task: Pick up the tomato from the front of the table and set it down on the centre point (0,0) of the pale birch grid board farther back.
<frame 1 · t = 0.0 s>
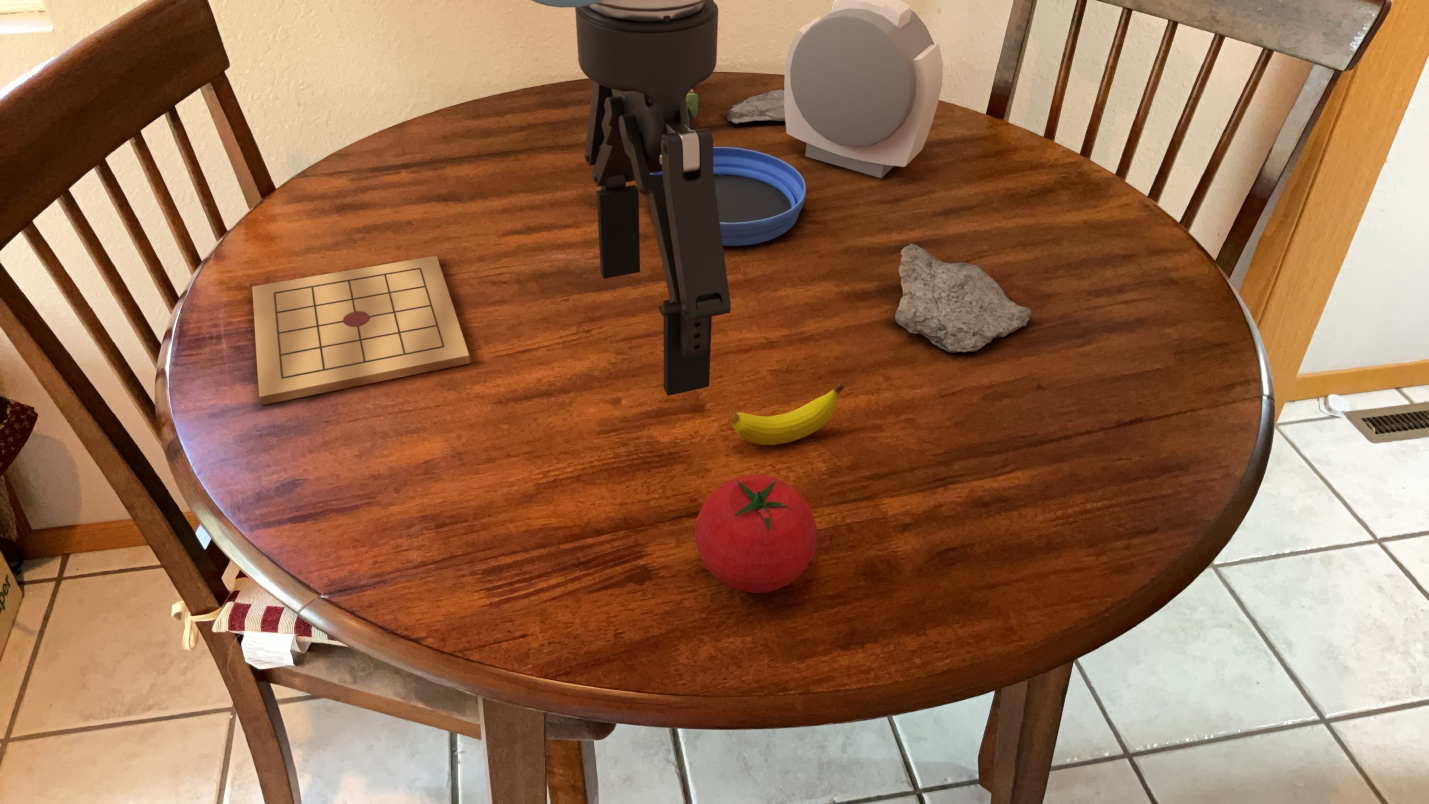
hand: (651, 326, 65), 18 cm above the table, tool pointing down, fingers open, 13 cm apart
alarm clock: (850, 160, 124), on the table
tomato: (752, 568, 73), on the table
fruit: (783, 440, 83), on the table
rock: (949, 311, 99), on the table
board: (358, 327, 93), on the table
stone: (797, 109, 135), on the table
bowl: (725, 211, 113), on the table
skewer: (660, 109, 134), on the table
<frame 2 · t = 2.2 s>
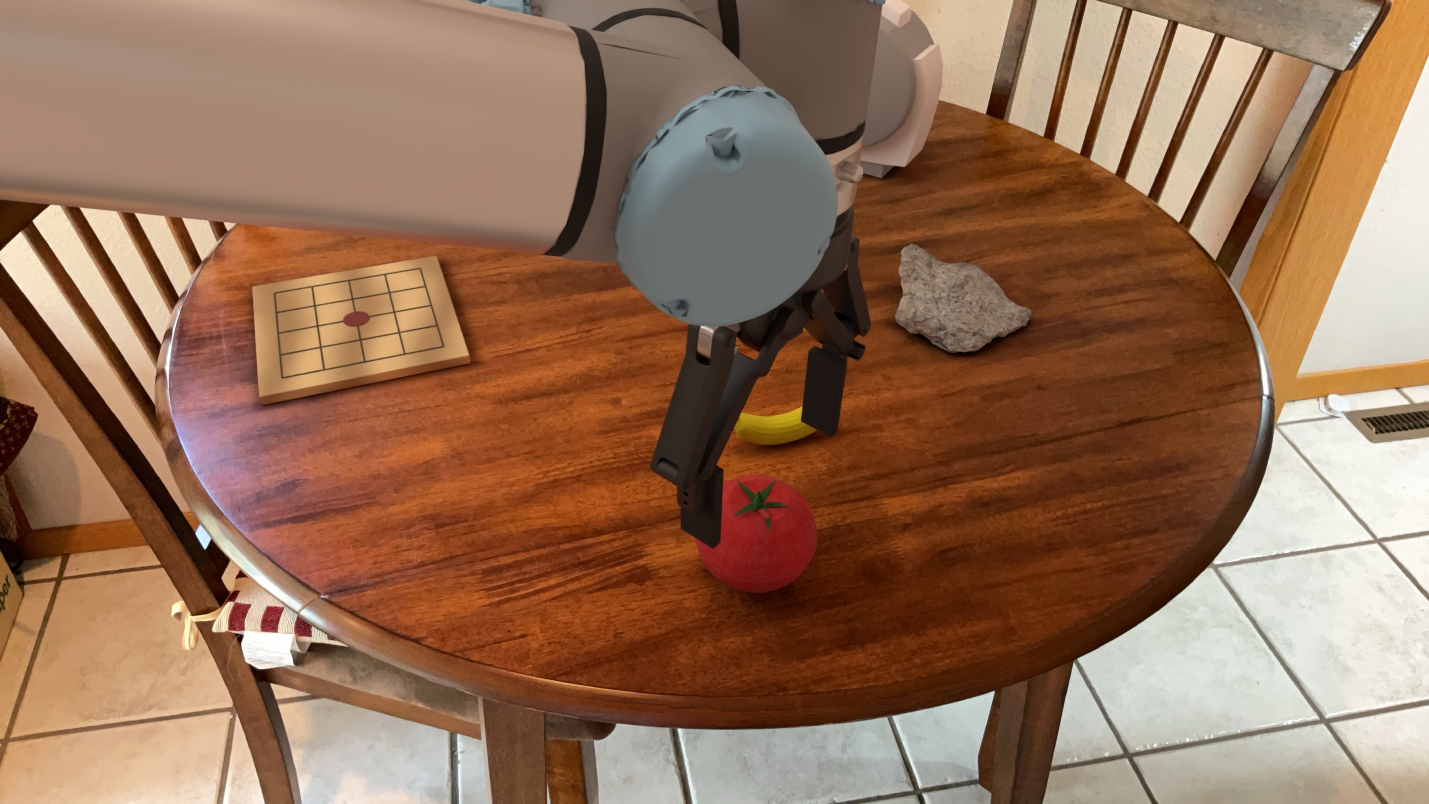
hand: (763, 478, 67), 9 cm above the table, tool pointing down, fingers open, 13 cm apart
nothing on the table moved.
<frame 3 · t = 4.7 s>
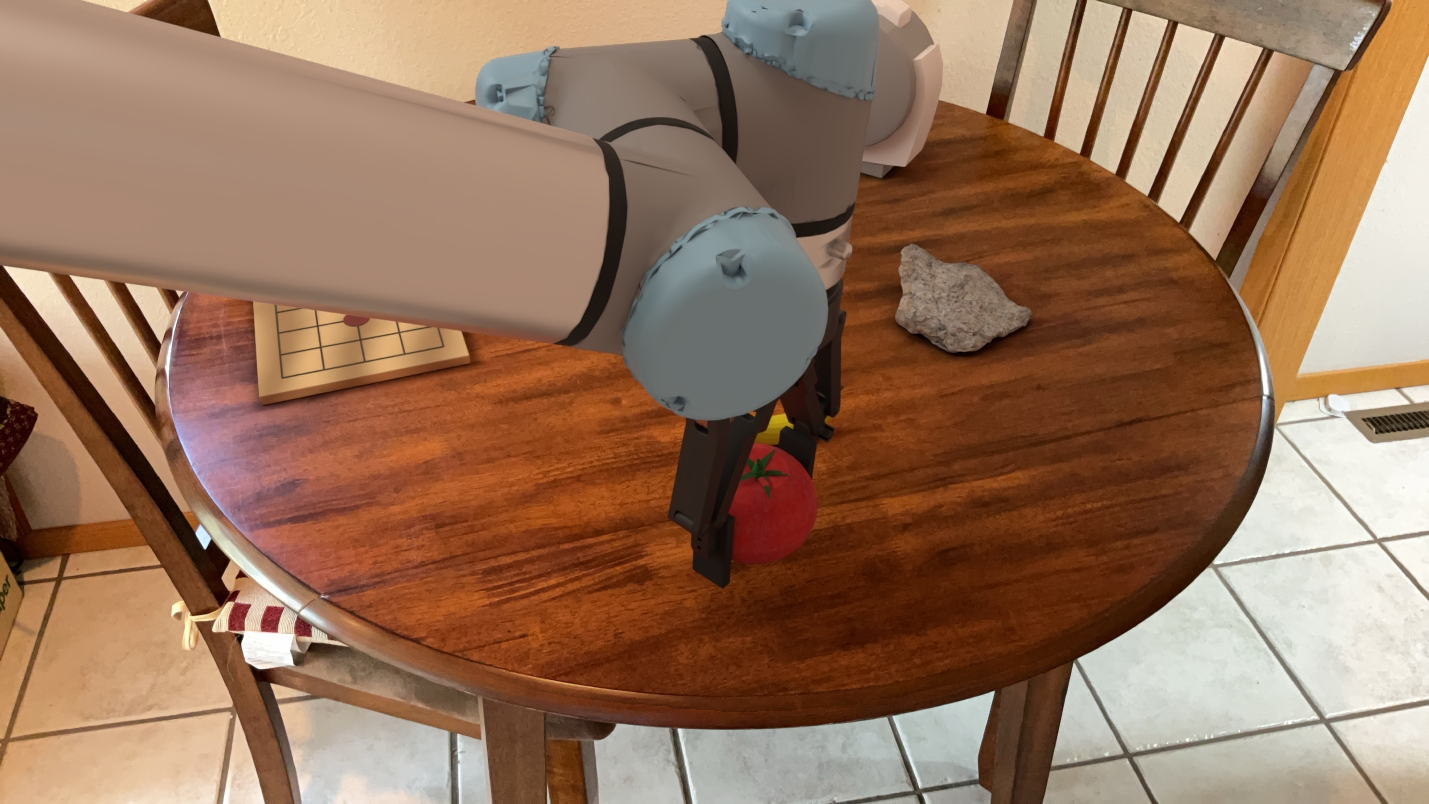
hand: (752, 536, 70), 3 cm above the table, tool pointing down, fingers closed on tomato, 9 cm apart
tomato: (750, 540, 70), point 3 cm above the table, touching gripper
everything else where it was.
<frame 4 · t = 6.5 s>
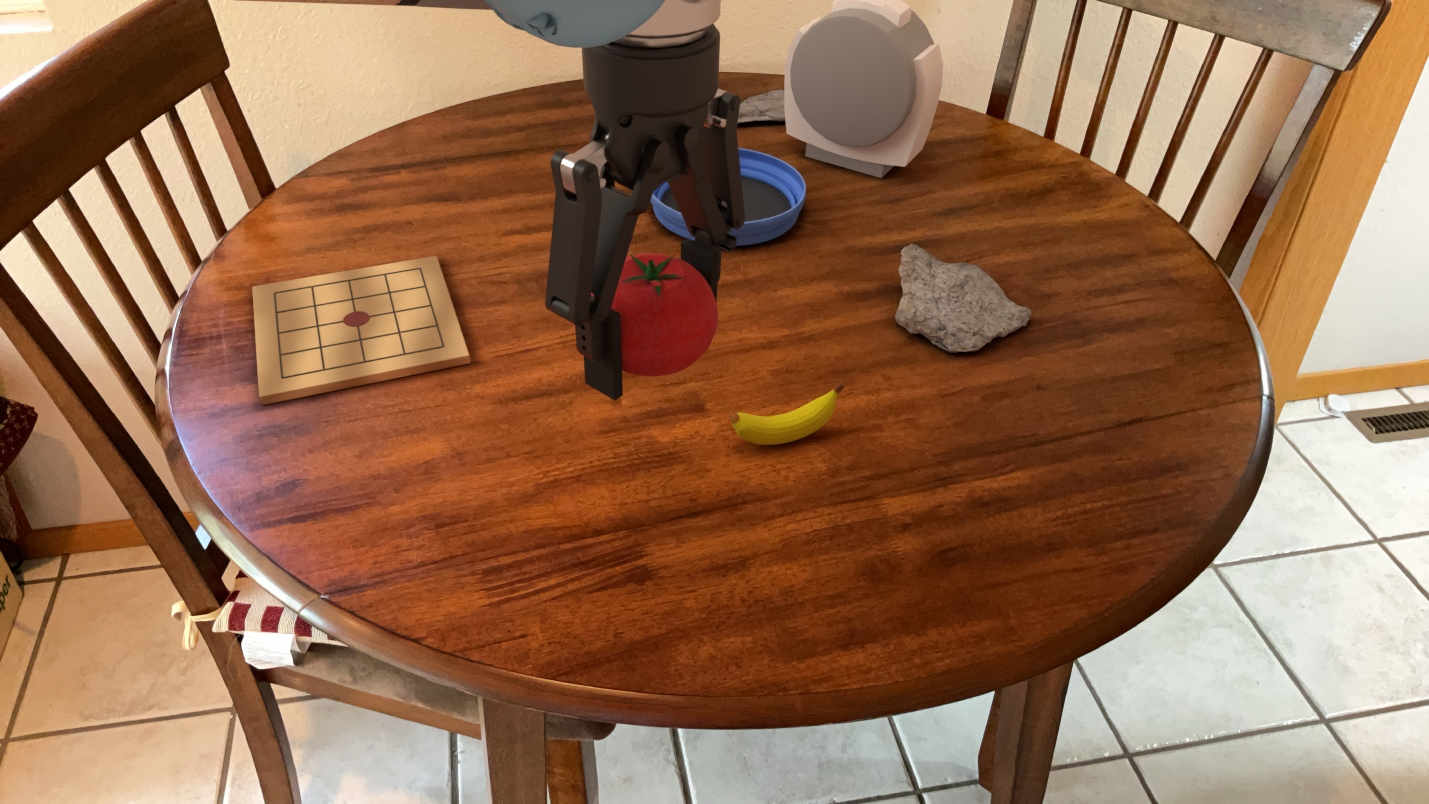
hand: (652, 356, 67), 15 cm above the table, tool pointing down, fingers closed on tomato, 9 cm apart
tomato: (651, 361, 67), point 15 cm above the table, touching gripper
everything else where it was.
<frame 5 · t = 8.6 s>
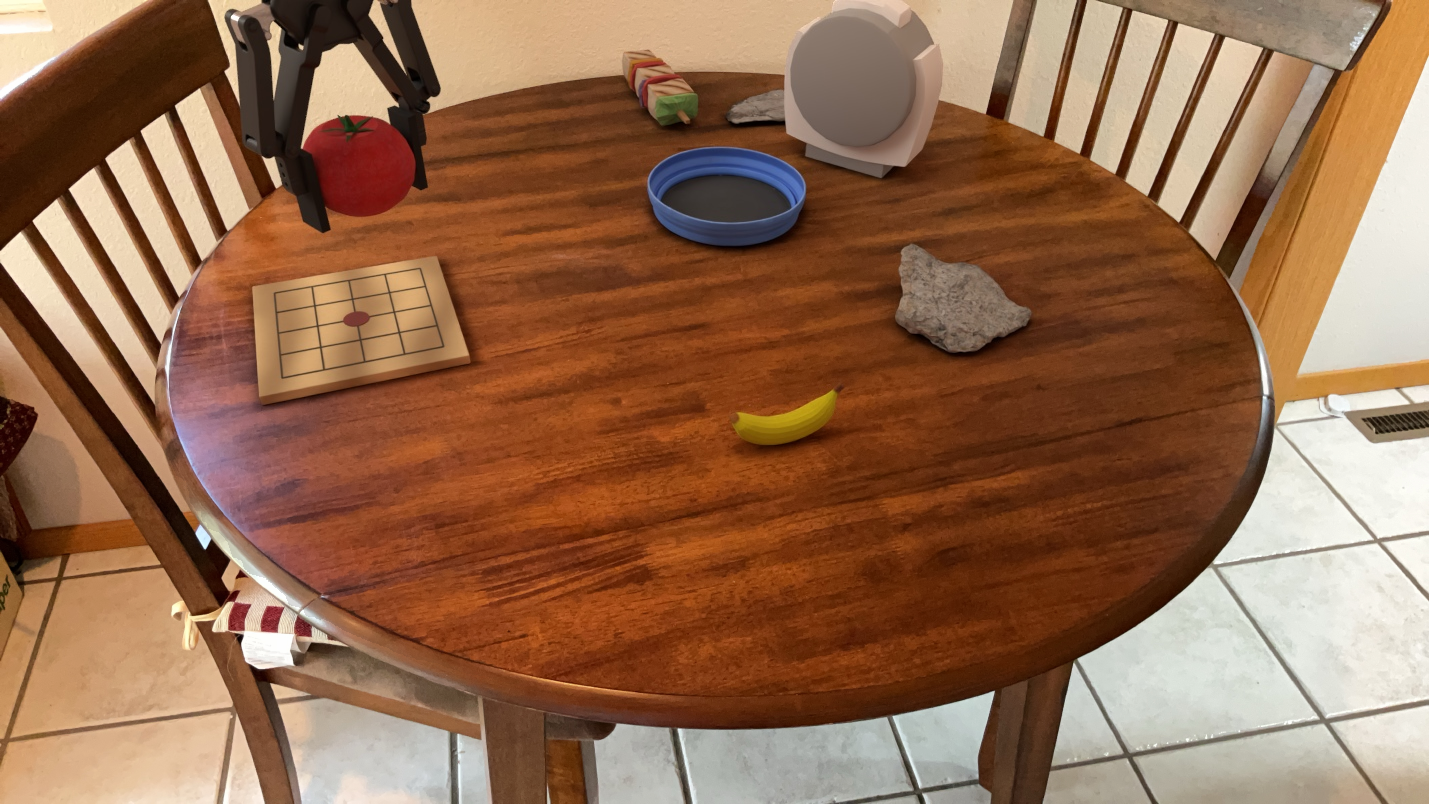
hand: (367, 204, 81), 15 cm above the table, tool pointing down, fingers closed on tomato, 9 cm apart
tomato: (368, 208, 81), point 15 cm above the table, touching gripper
everything else where it was.
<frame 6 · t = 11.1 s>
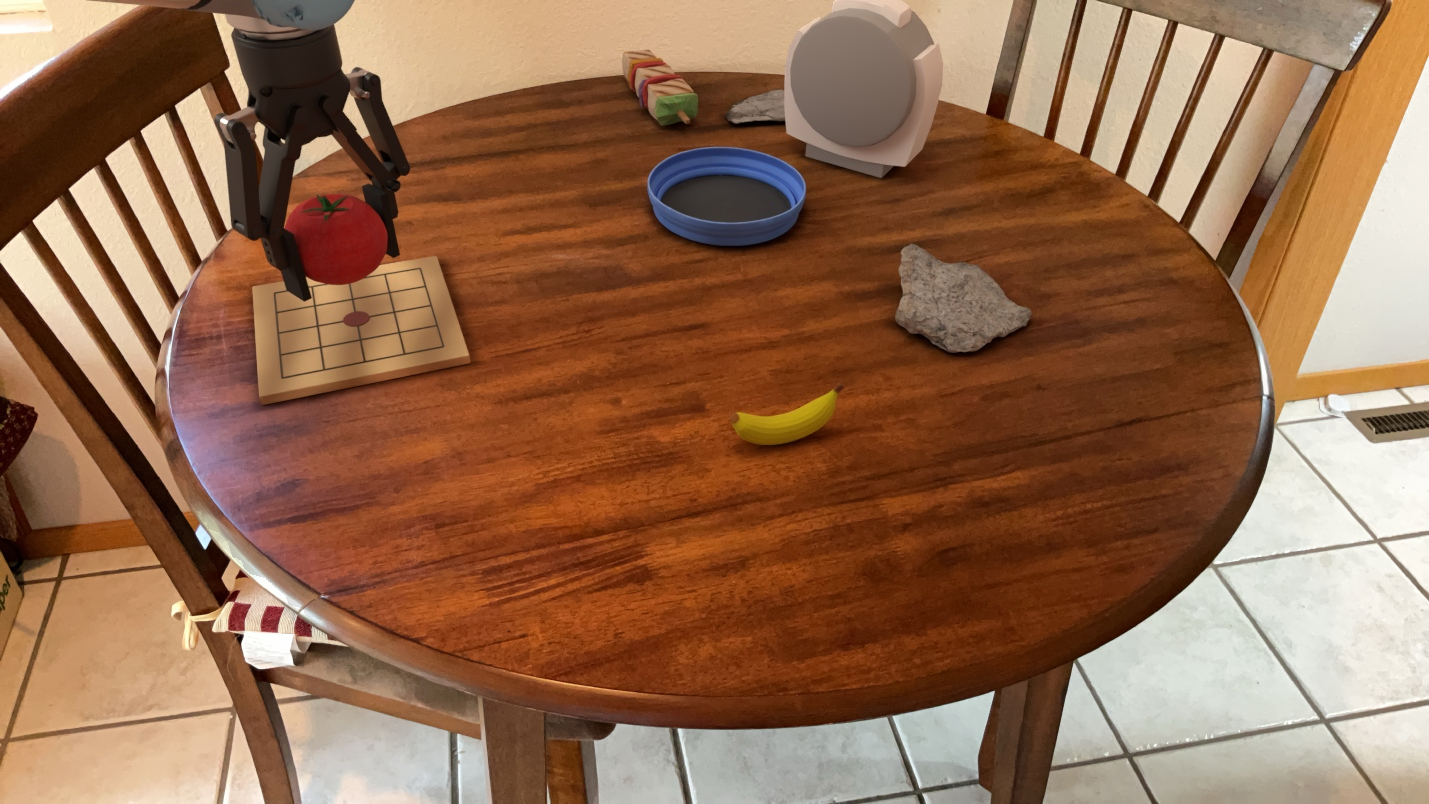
hand: (344, 272, 89), 6 cm above the table, tool pointing down, fingers closed on tomato, 9 cm apart
tomato: (345, 275, 90), point 6 cm above the table, touching gripper
everything else where it was.
when the fingers open (1 cm above the table, at t = 12.8 s): tomato stays where it is, resting on board.
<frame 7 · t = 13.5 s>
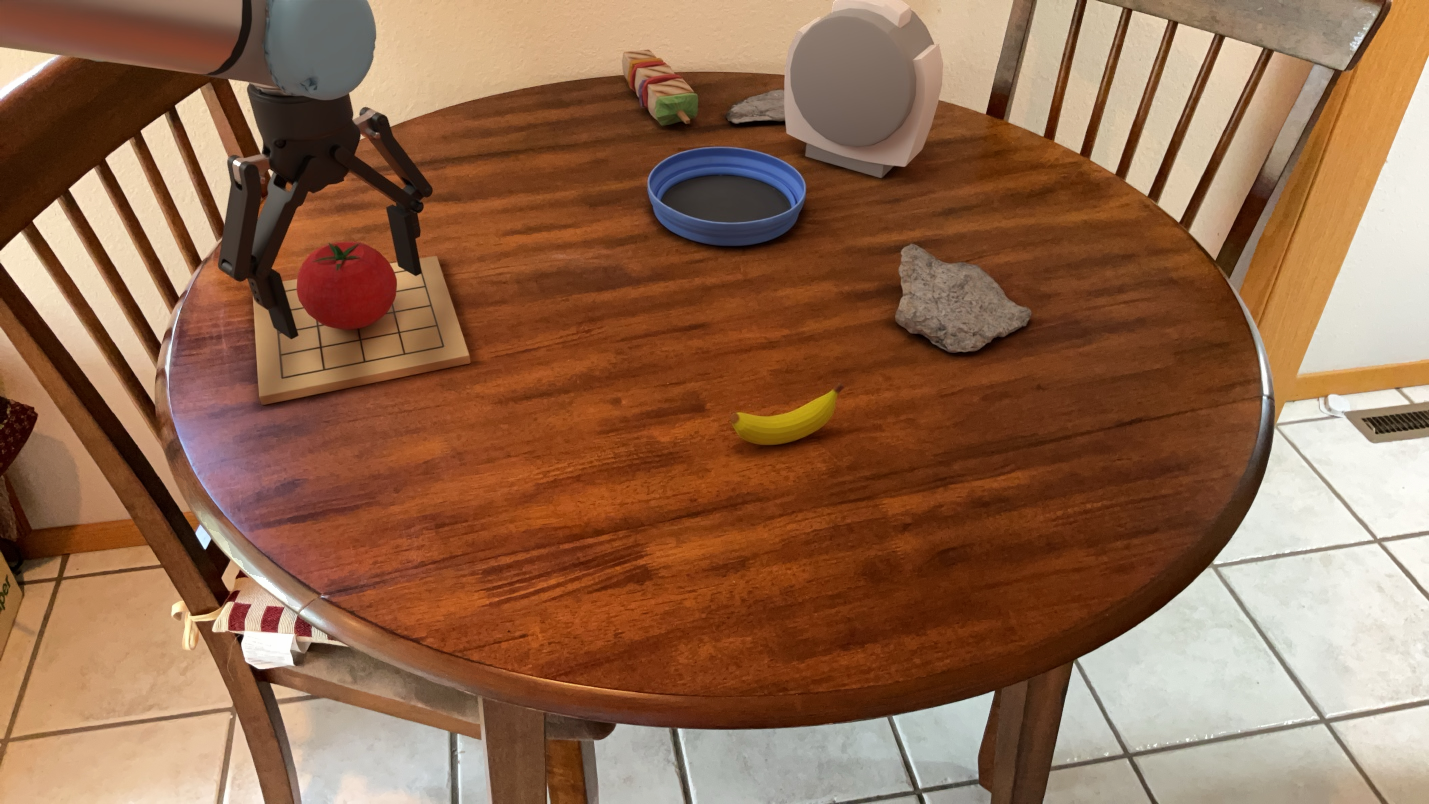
hand: (351, 299, 91), 3 cm above the table, tool pointing down, fingers open, 13 cm apart
tomato: (356, 319, 93), point 1 cm above the table, touching board
everything else where it was.
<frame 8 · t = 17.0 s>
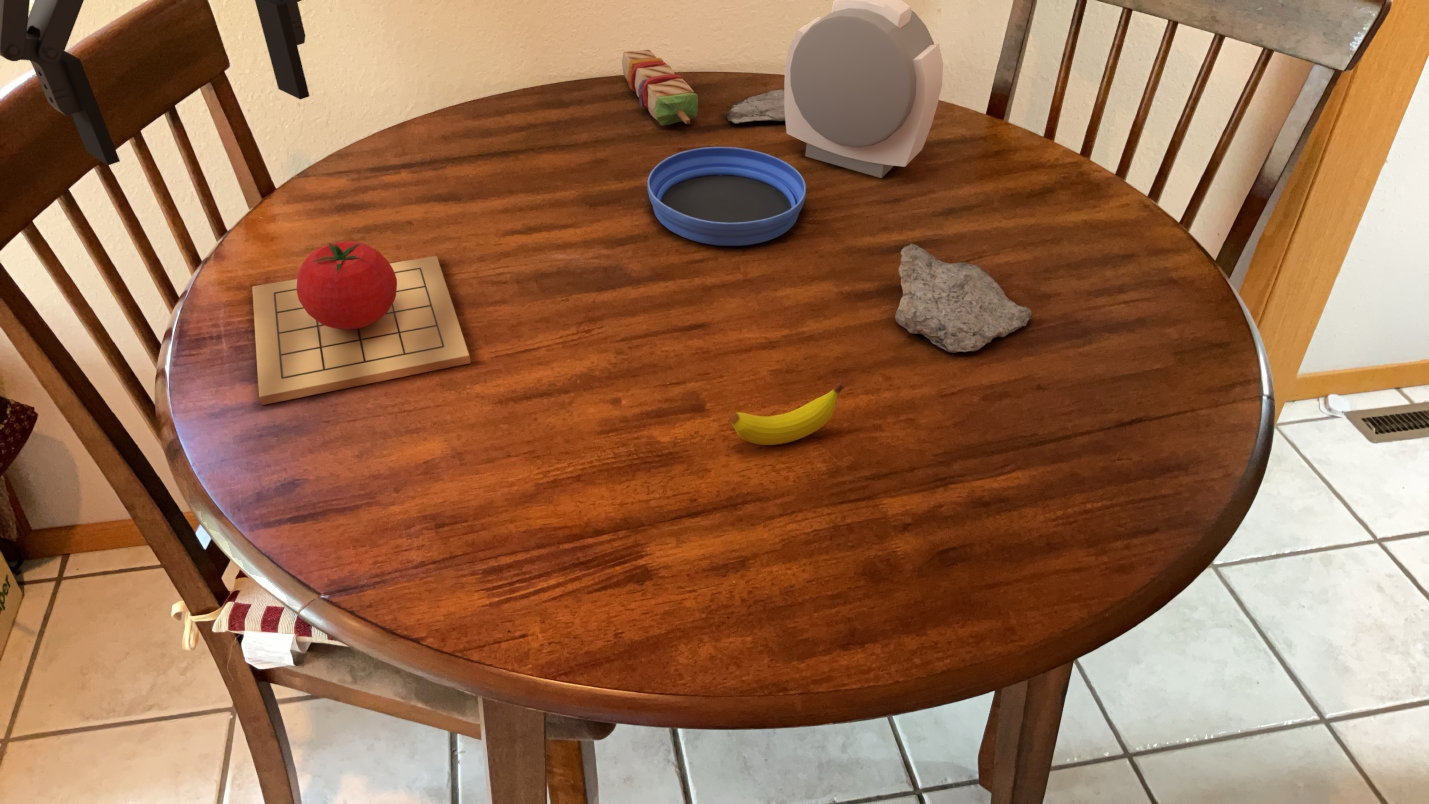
hand: (205, 123, 66), 27 cm above the table, tool pointing down, fingers open, 13 cm apart
nothing on the table moved.
at the end: tomato 0.1 cm off-centre on the board, point 0.9 cm above the board's base; the gripper is holding nothing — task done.
